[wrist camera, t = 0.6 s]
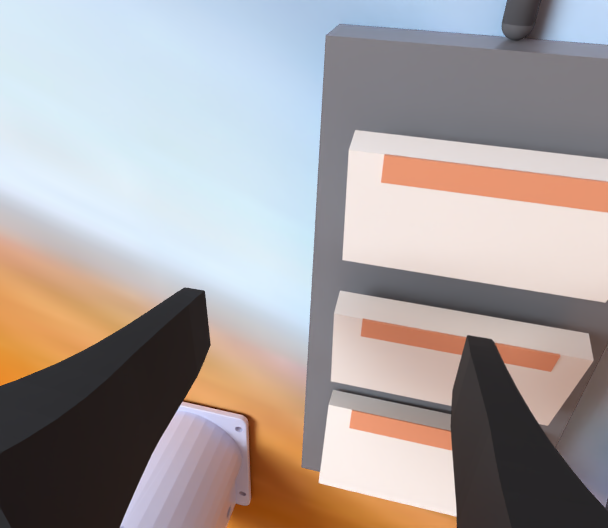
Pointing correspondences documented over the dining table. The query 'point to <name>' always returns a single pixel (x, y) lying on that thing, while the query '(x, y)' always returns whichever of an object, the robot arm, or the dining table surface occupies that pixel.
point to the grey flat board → (452, 127)
